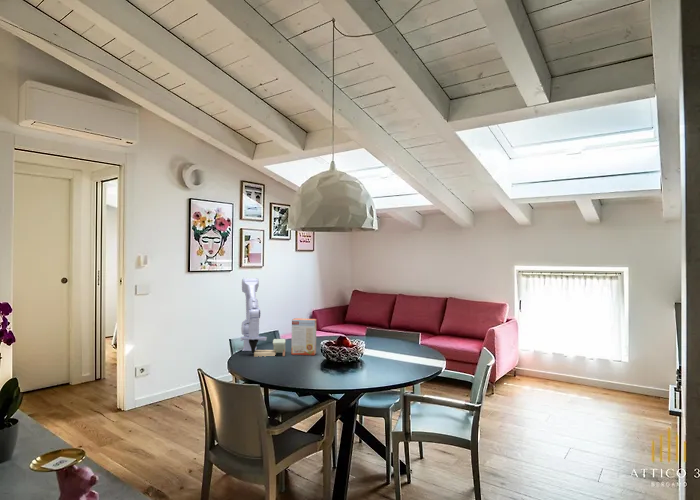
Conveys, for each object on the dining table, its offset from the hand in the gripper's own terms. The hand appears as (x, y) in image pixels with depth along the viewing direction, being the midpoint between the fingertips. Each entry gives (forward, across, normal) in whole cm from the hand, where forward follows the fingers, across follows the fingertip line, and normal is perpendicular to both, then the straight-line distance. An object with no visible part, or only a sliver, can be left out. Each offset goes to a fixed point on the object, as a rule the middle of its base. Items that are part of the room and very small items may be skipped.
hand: (253, 352), depth 253 cm
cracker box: (+2, +29, +2) cm, 29 cm away
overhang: (+1, +15, +1) cm, 15 cm away
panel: (+2, +7, 0) cm, 7 cm away
